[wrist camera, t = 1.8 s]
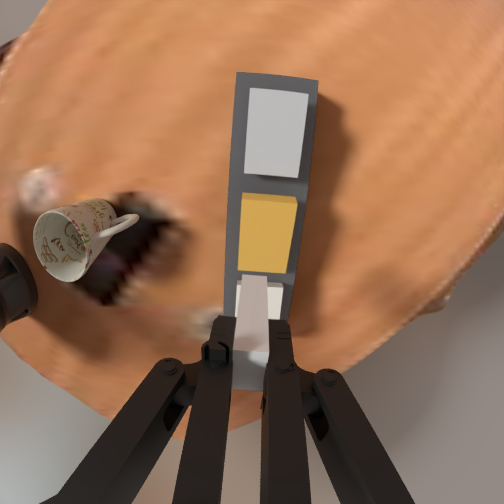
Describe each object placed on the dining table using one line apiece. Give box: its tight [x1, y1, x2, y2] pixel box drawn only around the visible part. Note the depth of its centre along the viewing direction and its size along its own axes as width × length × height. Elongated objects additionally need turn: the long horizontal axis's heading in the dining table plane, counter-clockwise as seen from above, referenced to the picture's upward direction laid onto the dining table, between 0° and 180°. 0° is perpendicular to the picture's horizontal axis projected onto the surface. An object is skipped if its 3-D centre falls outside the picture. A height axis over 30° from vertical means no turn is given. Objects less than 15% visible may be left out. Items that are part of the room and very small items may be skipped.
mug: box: [33, 198, 139, 282], centre depth 28 cm, size 8×13×10 cm, turn 101°
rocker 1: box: [244, 88, 309, 178], centre depth 23 cm, size 5×8×2 cm, turn 176°
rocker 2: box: [238, 193, 297, 273], centre depth 27 cm, size 5×8×2 cm, turn 176°
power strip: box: [223, 72, 318, 322], centre depth 32 cm, size 8×38×5 cm, turn 176°
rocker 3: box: [235, 280, 283, 319], centre depth 31 cm, size 5×8×2 cm, turn 176°
